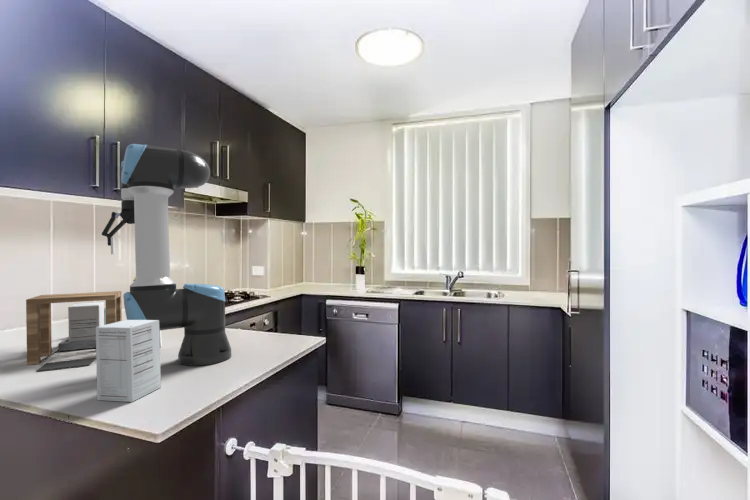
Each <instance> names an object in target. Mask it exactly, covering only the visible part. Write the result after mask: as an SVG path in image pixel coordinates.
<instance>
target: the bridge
mask: <svg viewBox="0 0 750 500" xmlns="http://www.w3.org/2000/svg"><path fill="white" fill-rule="evenodd" d="M95 301H96V302H98V301H99V302H101V301H105V308H106V325H107V324H111V323H115V322H119V321H123V319H122V318H123V317H122V314H123V313H122V291H121V290H118V291H117V290H115V291H101V292H100V291H99V292H98V291H97V292H75V293H74V292H73V293H59V294H58V293H56V294H41V295H37V296H33V297H30V298H28V299H27V298H26V300H25V309H26V310H25V313H26V314H25V316H26V317H25V318H26V319H25V323H26V324H25V326H26V365H27V366H29V365H31V366H32V365H39V364H38V362H40V361H41V360H42V359H41V358H42V357H47V356H48V355H49V354H51V353H52V352H53V350H52V349H53V348H52V347H53V346H52V304H60V303H61V304H62V303H83V302H95Z"/></svg>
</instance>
